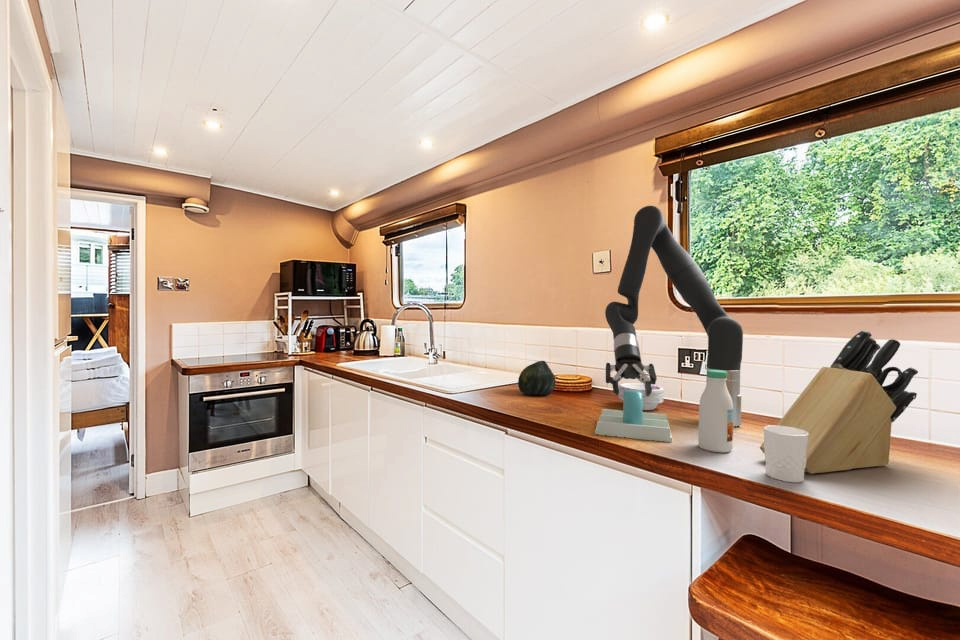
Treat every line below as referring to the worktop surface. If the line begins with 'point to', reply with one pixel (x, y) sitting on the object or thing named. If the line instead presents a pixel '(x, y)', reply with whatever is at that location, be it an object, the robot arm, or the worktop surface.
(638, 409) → the teal rounded upright block
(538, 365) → the squash
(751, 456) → the worktop surface
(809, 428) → the knife block
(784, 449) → the white cup
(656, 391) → the paper bowls
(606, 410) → the rack
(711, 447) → the milk bottle
